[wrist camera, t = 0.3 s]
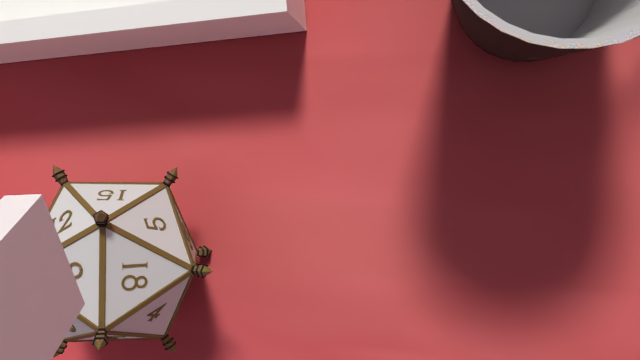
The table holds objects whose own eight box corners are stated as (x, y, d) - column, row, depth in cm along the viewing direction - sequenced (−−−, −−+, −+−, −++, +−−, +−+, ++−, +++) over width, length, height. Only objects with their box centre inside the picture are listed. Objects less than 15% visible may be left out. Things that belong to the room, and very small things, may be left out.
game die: (211, 259, 34) (210, 415, 26) (52, 261, 32) (-1, 427, 24) (213, 121, 29) (213, 260, 21) (26, 116, 27) (-52, 264, 19)
